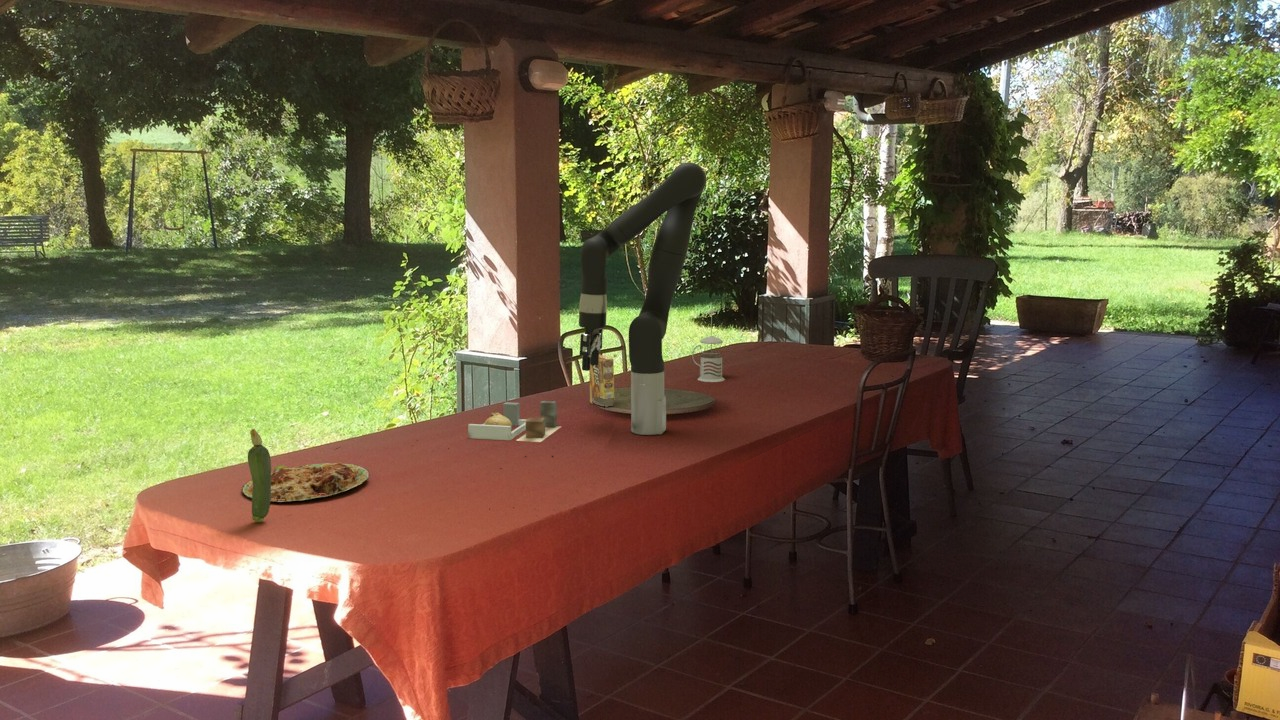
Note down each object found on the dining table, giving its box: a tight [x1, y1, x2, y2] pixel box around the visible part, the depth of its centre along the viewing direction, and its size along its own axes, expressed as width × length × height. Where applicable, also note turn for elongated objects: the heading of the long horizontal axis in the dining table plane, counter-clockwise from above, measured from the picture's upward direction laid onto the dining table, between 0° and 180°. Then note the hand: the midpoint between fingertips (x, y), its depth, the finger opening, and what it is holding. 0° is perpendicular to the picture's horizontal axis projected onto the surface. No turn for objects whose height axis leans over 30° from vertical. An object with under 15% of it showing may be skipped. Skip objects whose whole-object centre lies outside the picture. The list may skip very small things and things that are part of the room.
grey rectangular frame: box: [467, 401, 527, 441], centre depth 281 cm, size 12×19×7 cm, turn 167°
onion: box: [483, 412, 514, 431], centre depth 278 cm, size 8×8×7 cm
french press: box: [691, 309, 726, 383], centre depth 360 cm, size 10×12×25 cm
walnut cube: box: [525, 417, 545, 438], centre depth 275 cm, size 4×4×4 cm
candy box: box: [588, 354, 615, 404], centre depth 319 cm, size 9×4×15 cm, turn 33°
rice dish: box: [241, 462, 370, 503], centre depth 234 cm, size 28×28×5 cm
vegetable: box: [247, 428, 272, 523], centre depth 207 cm, size 4×4×20 cm
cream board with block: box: [515, 400, 562, 443], centre depth 278 cm, size 7×19×8 cm, turn 167°
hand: (590, 367), depth 283 cm, fingers open, 8 cm apart
